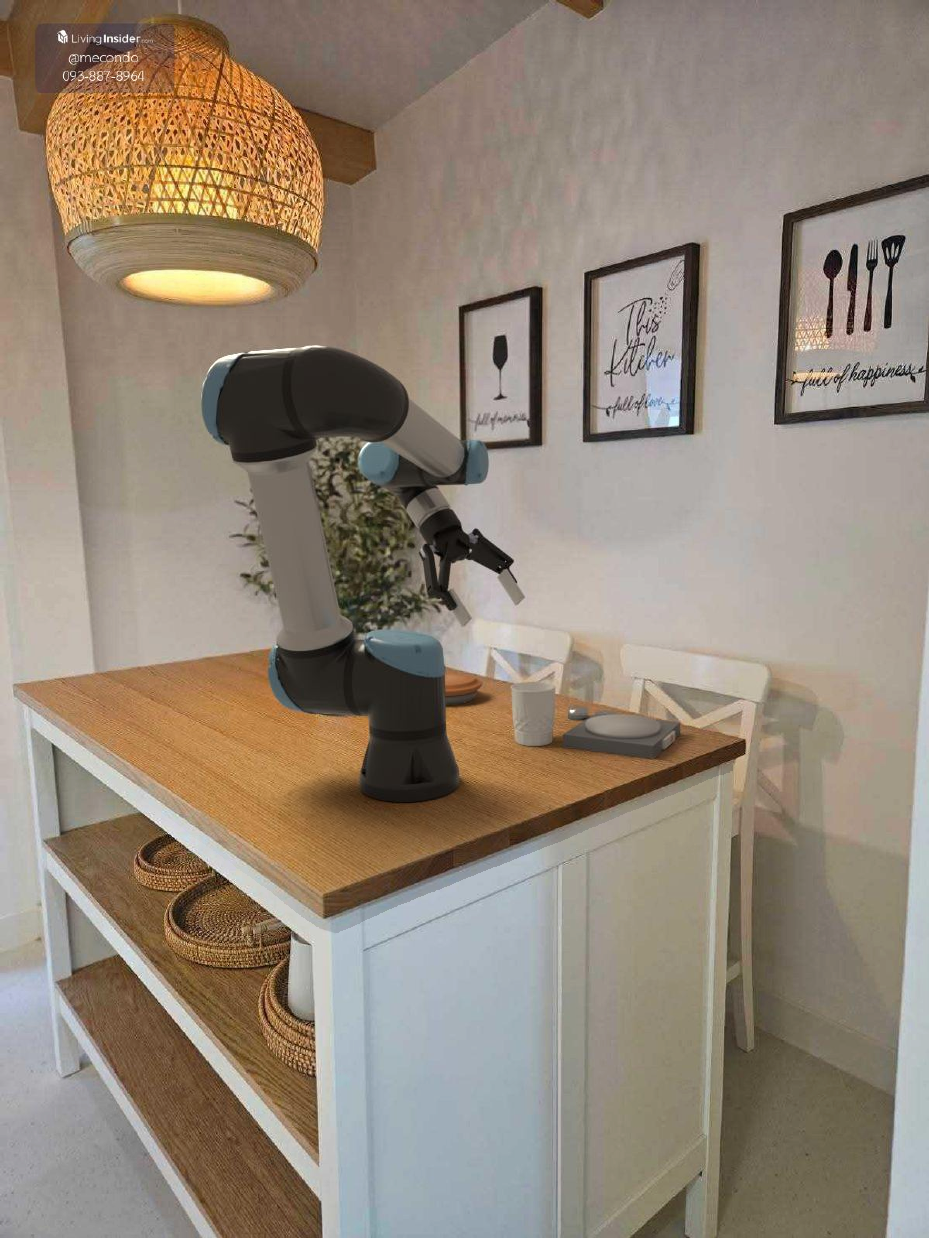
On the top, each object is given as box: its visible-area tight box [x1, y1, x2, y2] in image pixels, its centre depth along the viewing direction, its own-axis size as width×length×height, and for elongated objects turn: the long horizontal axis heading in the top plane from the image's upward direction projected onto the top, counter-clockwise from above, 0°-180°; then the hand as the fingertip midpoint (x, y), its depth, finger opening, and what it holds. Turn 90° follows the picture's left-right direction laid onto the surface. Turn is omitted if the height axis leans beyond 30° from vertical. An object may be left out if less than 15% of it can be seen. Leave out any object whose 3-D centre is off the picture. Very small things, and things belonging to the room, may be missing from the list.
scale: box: [562, 713, 681, 760], centre depth 144 cm, size 16×17×3 cm
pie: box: [445, 672, 483, 706], centre depth 178 cm, size 15×16×5 cm
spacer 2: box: [594, 709, 617, 715], centre depth 156 cm, size 4×4×2 cm
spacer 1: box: [567, 705, 589, 722], centre depth 160 cm, size 4×4×2 cm
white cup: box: [510, 681, 556, 747], centre depth 144 cm, size 8×8×10 cm
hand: (494, 611), depth 148 cm, fingers open, 13 cm apart
